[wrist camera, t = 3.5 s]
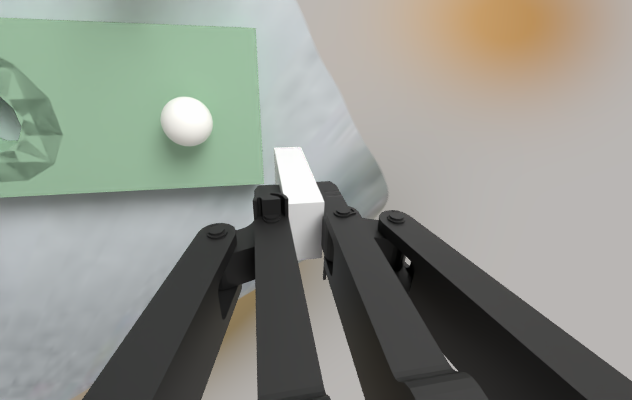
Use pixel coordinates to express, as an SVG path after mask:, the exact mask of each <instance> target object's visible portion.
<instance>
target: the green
mask: <svg viewBox="0 0 632 400" xmlns="http://www.w3.org/2000/svg"><path fill="white" fill-rule="evenodd" d="M0 97H1V98H2V99H3V100H5V101H6V102H7V103H8V104H9V105H10V106H11V107H12V108H13V109H14V111H15V113H16V116H17V118H18V120H19V122H20V125H21V132H20V136H19V140H18V141H7V140H5V139H2V138H0V198H1V197H20V196H40V195H59V194H78V193H98V192H117V191H136V190H156V189H175V188H194V187H214V186H233V185H252V184H264V177H263V158H262V140H261V121H260V102H259V84H258V65H257V47H256V28H241V27H216V26H192V25H167V24H142V23H117V22H93V21H68V20H43V19H18V18H0ZM177 97H192V98H195V99H197V100H199V101H200V102H202V103H203V104H204V105H205V106H206V107H207V108H208V110H209V111H210V113H211V116H212V119H213V128H212V132H211V134H210V136H209V137H208V139H207V140H206V141H204V142H203V143H201V144H199V145H196V146H182V145H179V144H177V143H175V142H173V141H172V140H170V139H169V138H168V137H167V136H166V134H165V133H164V131H163V129H162V126H161V121H160V117H161V112H162V110H163V108H164V106H165V105H166V104H167V103H168V102H169V101H170V100H172V99H174V98H177Z"/></svg>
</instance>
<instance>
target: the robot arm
mask: <svg viewBox="0 0 632 400" xmlns="http://www.w3.org/2000/svg"><path fill="white" fill-rule="evenodd" d="M274 156H275V185H260V186H258V187H257V188H256V189H255V190H254V199H253V210H254V221H253V223H252V224H250V225H249V226H247V227H246V228H243V229H240V230H235V228H234V227H233V226H231V225H230V224H225V223H216V224H211V225H208V226H206V227H204V228H202V229H201V230H200V231H199V232H198V234H197V235H196V237H195V238H194V239H193V241H192V242H191V244H190V245H189V247H188V248H187V249H186V251H185V252H184V254H183V255H182V257H181V258H180V260H179V261H178V262H177V264H176V265H175V267H174V268H173V270H172V271H171V273H170V274H169V275H168V277H167V278H166V280H165V281H164V283H163V284H162V285H161V287H160V288H159V290H158V291H157V293H156V294H155V296H154V297H153V298H152V300H151V301H150V303H149V304H148V306H147V307H146V309H145V310H144V311H143V313H142V314H141V316H140V317H139V319H138V320H137V321H136V323H135V324H134V326H133V327H132V329H131V330H130V332H129V333H128V334H127V336H126V337H125V339H124V340H123V342H122V343H121V345H120V346H119V347H118V349H117V350H116V352H115V353H114V355H113V356H112V357H111V359H110V360H109V362H108V363H107V365H106V366H105V368H104V369H103V370H102V372H101V373H100V375H99V376H98V378H97V379H96V381H95V382H94V383H93V385H92V386H91V388H90V389H89V391H88V392H87V393H86V395H85V396H84V398H83V399H82V400H201V398H202V395H203V393H204V390H205V387H206V384H207V382H208V379H209V376H210V374H211V371H212V368H213V365H214V363H215V360H216V357H217V354H218V352H219V349H220V346H221V344H222V341H223V338H224V335H225V333H226V330H227V327H228V325H229V322H230V319H231V316H232V314H233V311H234V308H235V305H236V303H237V300H238V297H239V295H240V292H241V289H242V284H243V283H246V282H249V281H252V280H254V279H255V286H256V336H257V383H258V385H257V386H258V400H331V399H330V397H329V396H328V395H326V393H325V390H324V385H323V381H322V376H321V371H320V366H319V361H318V357H317V352H316V347H315V342H314V337H313V332H312V328H311V323H310V318H309V313H308V308H307V304H306V299H305V294H304V289H303V285H302V280H301V275H300V270H299V266H298V260H305V259H316V258H321V257H322V249H323V252H324V270H323V280H325V279H326V275H327V277H328V280H329V284H330V287H331V290H332V293H333V296H334V300H335V303H336V306H337V309H338V313H339V316H340V319H341V323H342V326H343V329H344V332H345V335H346V339H347V342H348V345H349V348H350V352H351V355H352V358H353V362H354V365H355V368H356V371H357V375H358V378H359V381H360V384H361V387H362V391H363V393H364V397H365V400H632V381H631V380H629V379H628V378H627V377H625V376H624V375H623V374H621V373H620V372H618V371H617V370H616V369H615V368H613V367H612V366H610V365H609V364H608V363H607V362H605V361H604V360H602V359H601V358H600V357H598V356H597V355H596V354H594V353H593V352H592V351H590V350H589V349H588V348H586V347H585V346H584V345H582V344H581V343H580V342H578V341H577V340H576V339H574V338H573V337H572V336H570V335H569V334H568V333H566V332H565V331H564V330H562V329H561V328H560V327H558V326H557V325H555V324H554V323H553V322H551V321H550V320H549V319H547V318H546V317H545V316H543V315H542V314H541V313H539V312H538V311H537V310H535V309H534V308H533V307H531V306H530V305H529V304H527V303H526V302H525V301H523V300H522V299H521V298H519V297H518V296H516V295H515V294H514V293H512V292H511V291H509V290H508V289H507V288H506V287H504V286H503V285H502V284H500V283H499V282H498V281H496V280H495V279H494V278H492V277H491V276H490V275H488V274H487V273H485V272H484V271H483V270H482V269H480V268H479V267H478V266H476V265H475V264H474V263H472V262H471V261H470V260H468V259H467V258H465V257H464V256H463V255H461V254H460V253H459V252H457V251H456V250H455V249H453V248H452V247H451V246H449V245H448V244H446V243H445V242H444V241H443V240H441V239H440V238H439V237H437V236H436V235H435V234H433V233H432V232H430V231H429V230H428V229H426V228H425V227H424V226H422V225H421V224H420V223H418V222H417V221H416V220H414V219H413V218H412V217H410V216H409V215H407V214H405V213H403V212H400V211H395V210H391V211H385V212H382V213H381V214H380V215H379V220H372V219H365V218H362V217H361V215H360V214H359V212H358V211H357V210H356V209H354V208H352V207H349V206H347V204H346V202H345V200H344V198H343V197H342V196H341V193H340V192H339V189H338V188H337V186H336V185H335V184H333V183H332V182H330V181H326V182H316V181H315V179H314V177H313V174H312V172H311V170H310V167H309V165H308V163H307V160H306V158H305V156H304V154H303V151H302V149H301V147H281V148H274ZM406 257H407V258H408V259H409V260H410V261H411V264H410V266H409V265H408V264H407V263H406V262H405V258H406ZM443 354H444V355H445V356H446V357H447V359H448V360H449V361H450V362H451V363H452V364H453V366H454V367H455V368H456V369H457V370H458V371H459V372H457V371H455V370H453V369H452V368H451V366H450V365H449V363H448V362H447V360H446V358H445V357H444V355H443Z"/></svg>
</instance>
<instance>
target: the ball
mask: <svg viewBox="0 0 632 400" xmlns="http://www.w3.org/2000/svg"><path fill="white" fill-rule="evenodd" d="M160 121H161V126H162V129H163V131H164V133H165V134H166V136H167V137H168V138H169V139H170V140H172V141H173V142H175V143H177V144H179V145H182V146H196V145H199V144H201V143H203V142H204V141H206V140H207V139H208V137H209V136H210V134H211V132H212V128H213V119H212V116H211V113H210V111H209V110H208V108H207V107H206V106H205V105H204V104H203V103H202V102H200V101H199V100H197V99H195V98H192V97H177V98H174V99H172V100H170V101H169V102H168V103H167V104H166V105H165V106H164V108H163V110H162V112H161V117H160Z"/></svg>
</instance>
